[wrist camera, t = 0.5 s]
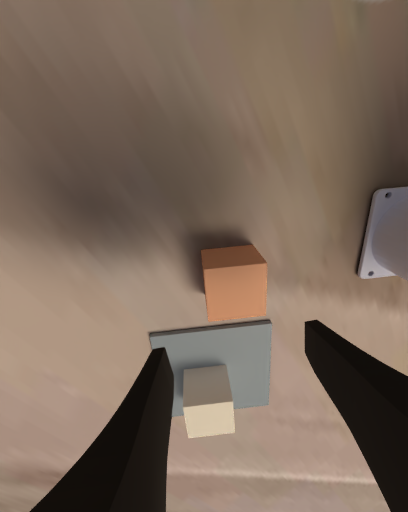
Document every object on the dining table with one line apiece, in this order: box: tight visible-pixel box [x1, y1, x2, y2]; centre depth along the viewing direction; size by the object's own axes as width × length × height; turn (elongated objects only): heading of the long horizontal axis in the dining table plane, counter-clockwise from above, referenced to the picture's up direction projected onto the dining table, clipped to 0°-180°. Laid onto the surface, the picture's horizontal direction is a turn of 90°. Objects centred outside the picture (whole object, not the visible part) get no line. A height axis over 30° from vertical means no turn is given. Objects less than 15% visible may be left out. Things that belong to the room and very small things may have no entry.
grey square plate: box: [150, 320, 272, 417], centre depth 25 cm, size 12×12×1 cm
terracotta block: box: [201, 245, 267, 322], centre depth 19 cm, size 4×4×4 cm
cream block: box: [183, 365, 235, 438], centre depth 23 cm, size 4×4×4 cm
